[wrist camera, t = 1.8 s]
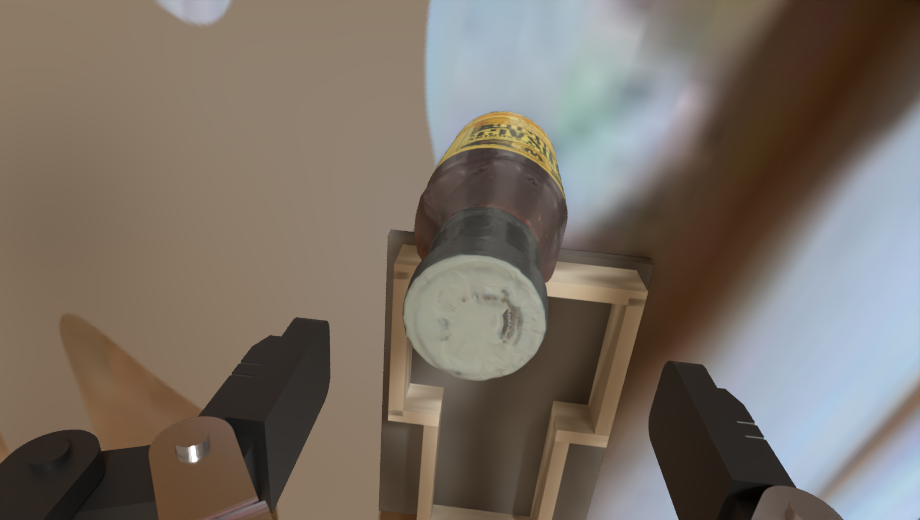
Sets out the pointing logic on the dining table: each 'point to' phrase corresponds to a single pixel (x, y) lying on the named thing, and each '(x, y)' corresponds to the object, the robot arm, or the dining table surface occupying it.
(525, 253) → the sauce bottle
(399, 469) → the keyhole board
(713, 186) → the dining table surface
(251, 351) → the robot arm
